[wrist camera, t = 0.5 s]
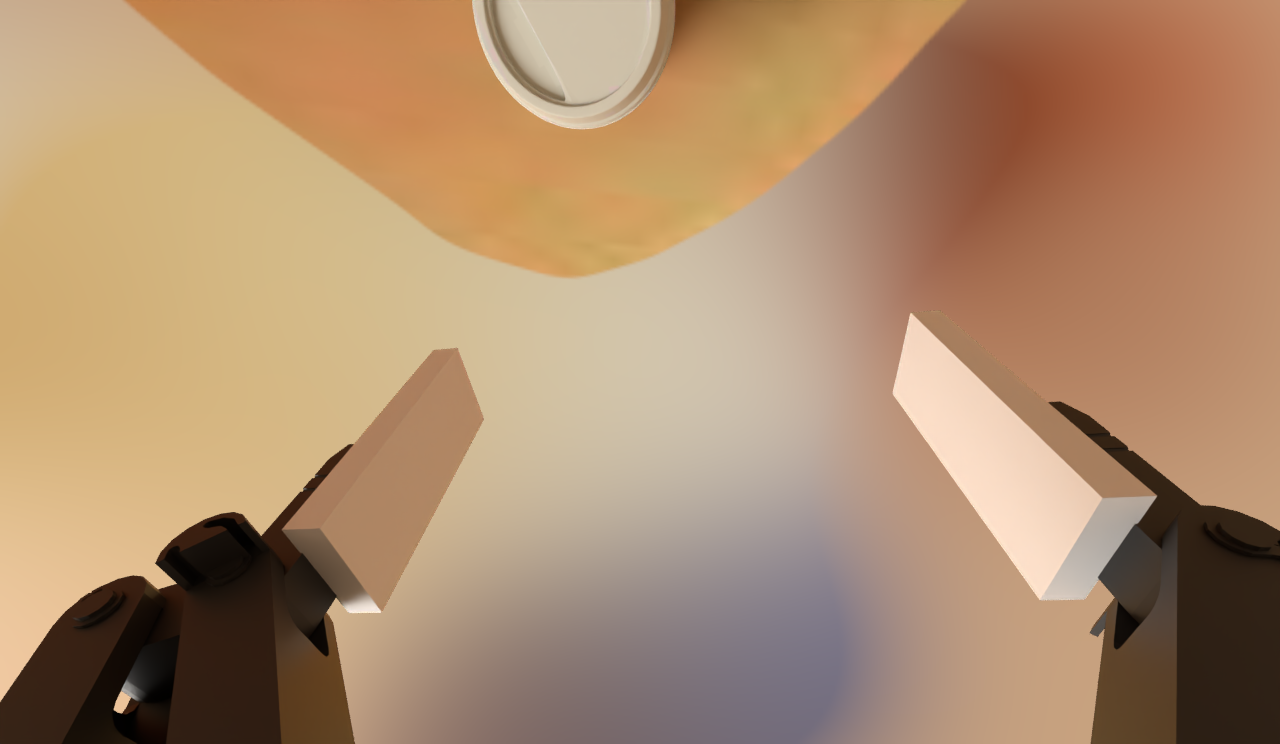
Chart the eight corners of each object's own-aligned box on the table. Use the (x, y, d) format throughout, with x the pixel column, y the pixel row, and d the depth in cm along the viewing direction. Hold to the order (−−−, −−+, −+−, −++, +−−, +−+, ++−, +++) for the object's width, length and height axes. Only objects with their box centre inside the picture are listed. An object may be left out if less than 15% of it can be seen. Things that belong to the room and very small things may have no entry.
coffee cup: (528, -62, 26) (439, -156, 16) (679, -52, 26) (688, -140, 16) (537, 111, 30) (473, 126, 20) (666, 120, 30) (665, 139, 20)
